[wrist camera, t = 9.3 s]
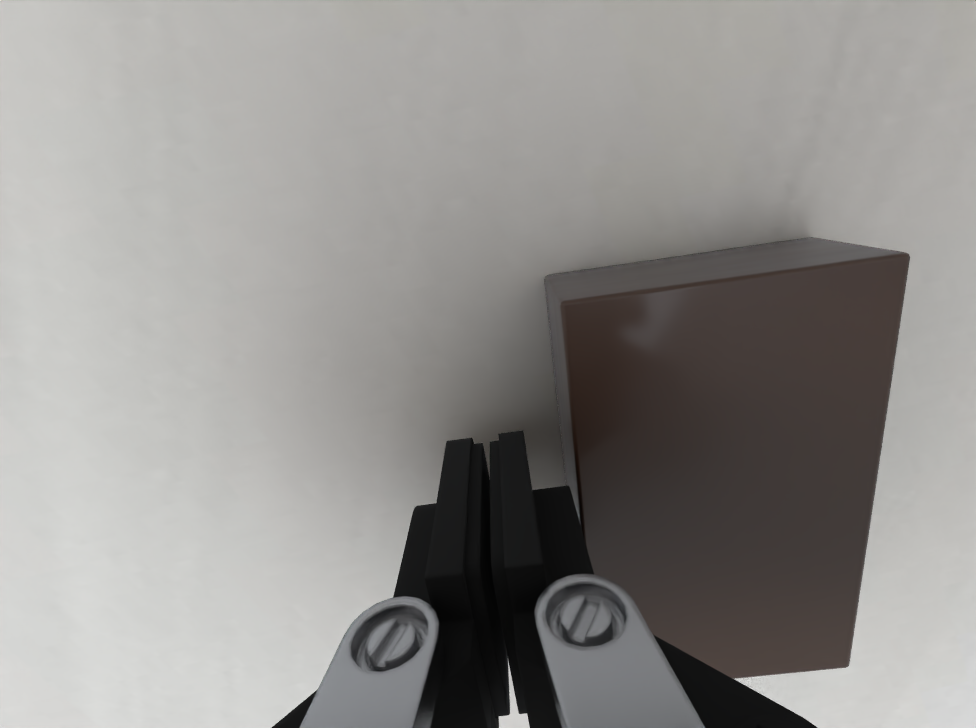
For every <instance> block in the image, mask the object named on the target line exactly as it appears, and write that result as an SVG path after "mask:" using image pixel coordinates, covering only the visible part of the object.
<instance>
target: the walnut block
mask: <svg viewBox="0 0 976 728" xmlns="http://www.w3.org/2000/svg"><path fill="white" fill-rule="evenodd" d="M909 260H910V256H909V254H908V253H905V252H899V251H893V250H886V249H880V248H874V247H868V246H862V245H856V244H850V243H843V242H837V241H831V240H825V239H819V238H813V237H811V238H804V239H797V240H790V241H783V242H776V243H769V244H762V245H755V246H748V247H741V248H734V249H727V250H720V251H713V252H706V253H699V254H692V255H685V256H678V257H671V258H664V259H657V260H650V261H643V262H636V263H629V264H622V265H615V266H608V267H601V268H594V269H587V270H580V271H573V272H566V273H559V274H552V275H547V276H546V277H545V279H544V280H545V290H546V299H547V309H548V318H549V328H550V337H551V347H552V357H553V366H554V376H555V385H556V395H557V404H558V414H559V423H560V433H561V442H562V452H563V461H564V471H565V480H566V486H568V485H569V487H570V490H571V493H572V496H573V500H574V504H575V507H576V511H577V514H578V518H579V522H580V525H581V529H582V532H583V536H584V539H585V543H586V547H587V550H588V554H589V557H590V561H591V564H592V568H593V572H594V575H599V576H602V577H605V578H608V579H610V580H613V581H614V582H616V583H617V584H619V585H620V586H622V587H623V588H624V589H625V590H626V591H627V592H628V594H629V595H630V596H631V597H632V599H633V600H634V602H635V604H636V605H637V607H638V609H639V611H640V612H641V614H642V616H643V618H644V620H645V621H646V623H647V625H648V627H649V628H650V630H651V632H652V634H653V635H655V636H657V637H658V638H660V639H662V640H664V641H666V642H667V643H669V644H671V645H673V646H675V647H676V648H678V649H680V650H682V651H684V652H685V653H687V654H689V655H691V656H693V657H694V658H696V659H698V660H700V661H702V662H704V663H705V664H707V665H709V666H711V667H713V668H714V669H716V670H718V671H720V672H722V673H723V674H725V675H727V676H729V677H731V678H732V679H735V678H745V677H755V676H765V675H775V674H785V673H796V672H806V671H816V670H826V669H836V668H846V667H848V666H849V662H850V655H851V648H852V642H853V635H854V628H855V622H856V615H857V608H858V602H859V595H860V588H861V581H862V575H863V568H864V561H865V555H866V548H867V541H868V535H869V528H870V521H871V515H872V508H873V501H874V495H875V488H876V481H877V474H878V468H879V461H880V454H881V448H882V441H883V434H884V428H885V421H886V414H887V408H888V401H889V394H890V388H891V381H892V374H893V367H894V361H895V354H896V347H897V341H898V334H899V327H900V321H901V314H902V307H903V301H904V294H905V287H906V281H907V274H908V267H909Z"/></svg>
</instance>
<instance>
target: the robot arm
mask: <svg viewBox="0 0 976 728" xmlns="http://www.w3.org/2000/svg"><path fill="white" fill-rule="evenodd" d="M508 660H509V666H510V671H511V676H512V681H513V686H514V691H515V696H516V701H517V706H518V711H519V714H524V713H527V714H528V720H529V725H530V728H817V727H816V726H814V725H813V724H812V723H810V722H809V721H807V720H806V719H804V718H803V717H801V716H799V715H797V714H795V713H794V712H792V711H790V710H788V709H786V708H785V707H783V706H781V705H779V704H777V703H776V702H774V701H772V700H770V699H768V698H767V697H765V696H763V695H761V694H759V693H758V692H756V691H754V690H752V689H750V688H749V687H747V686H745V685H743V684H741V683H740V682H738V681H736V680H734V679H732V678H731V677H729V676H727V675H725V674H723V673H722V672H720V671H718V670H716V669H714V668H713V667H711V666H709V665H707V664H705V663H704V662H702V661H700V660H698V659H696V658H694V657H693V656H691V655H689V654H687V653H685V652H684V651H682V650H680V649H678V648H676V647H675V646H673V645H671V644H669V643H667V642H666V641H664V640H662V639H660V638H658V637H657V636H655V635H653V634H652V632H651V630H650V628H649V627H648V625H647V623H646V621H645V620H644V618H643V616H642V614H641V612H640V611H639V609H638V607H637V605H636V604H635V602H634V600H633V599H632V597H631V596H630V595H629V594H628V592H627V591H626V590H625V589H624V588H623V587H622V586H620V585H619V584H617V583H616V582H614V581H613V580H610V579H608V578H605V577H602V576H599V575H594V572H593V568H592V564H591V561H590V557H589V554H588V550H587V547H586V543H585V539H584V536H583V532H582V529H581V525H580V522H579V518H578V514H577V511H576V507H575V504H574V500H573V496H572V493H571V490H570V487H569V485H568V486H560V487H553V488H546V489H538V490H532V485H531V479H530V472H529V466H528V459H527V452H526V446H525V439H524V432H523V430H522V431H515V432H508V433H501V434H499V441H492V442H490V479H489V473H488V468H487V462H486V457H485V451H484V446H483V443H477V444H474V442H473V439H472V438H466V439H459V440H452V441H447V442H446V448H445V454H444V460H443V466H442V472H441V479H440V485H439V491H438V497H437V503H435V504H428V505H421V506H416V507H415V508H414V511H413V515H412V519H411V523H410V528H409V532H408V536H407V541H406V545H405V549H404V554H403V558H402V562H401V567H400V571H399V575H398V580H397V584H396V588H395V593H394V597H393V598H390V599H387V600H384V601H382V602H379V603H377V604H375V605H373V606H372V607H370V608H369V609H367V610H365V611H364V612H363V613H362V614H361V615H360V616H359V617H358V618H357V619H355V620H354V621H353V622H352V624H351V625H350V627H349V628H348V630H347V632H346V633H345V635H344V636H343V639H342V641H341V643H340V645H339V647H338V649H337V651H336V653H335V655H334V657H333V659H332V661H331V663H330V665H329V668H328V670H327V672H326V674H325V676H324V678H323V680H322V682H321V684H320V686H319V688H318V690H317V691H315V692H314V693H313V694H312V695H311V696H309V697H308V698H307V699H306V700H305V701H303V702H302V703H301V704H300V705H298V706H297V707H296V708H295V709H294V710H292V711H291V712H290V713H289V714H288V715H286V716H285V717H284V718H283V719H282V720H280V721H279V722H278V723H277V724H276V725H274V726H273V727H272V728H499V716H505V715H509V714H510V700H509V677H508Z"/></svg>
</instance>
